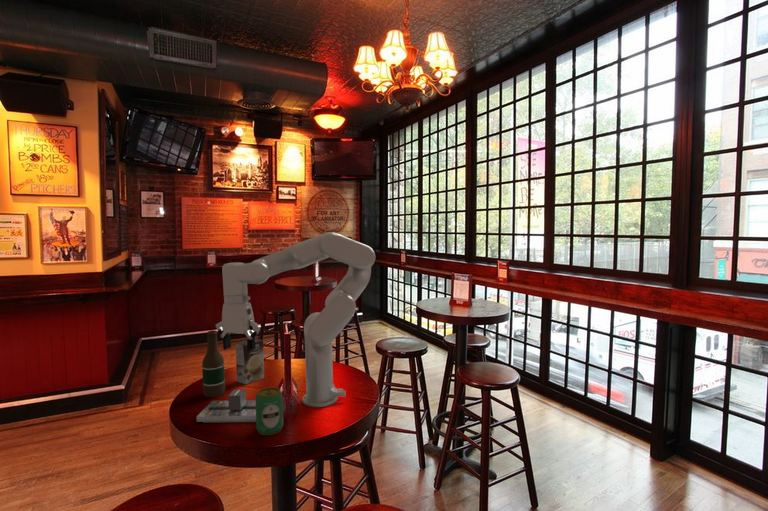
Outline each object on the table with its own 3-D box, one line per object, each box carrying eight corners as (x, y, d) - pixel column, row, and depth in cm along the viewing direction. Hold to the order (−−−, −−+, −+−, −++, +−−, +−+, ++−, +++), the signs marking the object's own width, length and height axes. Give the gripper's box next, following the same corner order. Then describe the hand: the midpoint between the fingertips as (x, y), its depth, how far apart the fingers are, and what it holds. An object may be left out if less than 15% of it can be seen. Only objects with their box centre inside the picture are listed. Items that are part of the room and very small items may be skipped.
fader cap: (246, 403, 139) (245, 389, 139) (240, 410, 134) (240, 395, 134) (234, 403, 139) (233, 389, 139) (228, 410, 134) (228, 395, 134)
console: (281, 405, 143) (280, 394, 142) (271, 421, 131) (271, 410, 131) (212, 406, 143) (212, 395, 143) (196, 422, 131) (196, 411, 131)
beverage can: (258, 438, 121) (256, 398, 120) (255, 426, 128) (253, 389, 127) (285, 432, 124) (284, 393, 123) (281, 421, 131) (279, 384, 130)
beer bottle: (217, 398, 149) (214, 334, 148) (198, 397, 151) (195, 333, 149) (229, 390, 157) (227, 329, 155) (211, 389, 159) (209, 328, 157)
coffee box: (245, 385, 162) (244, 345, 161) (236, 381, 166) (234, 342, 165) (264, 378, 170) (263, 340, 169) (255, 374, 173) (253, 337, 172)
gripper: (264, 297, 138) (267, 347, 139) (222, 297, 143) (225, 344, 144) (251, 302, 131) (254, 354, 132) (207, 300, 136) (210, 351, 137)
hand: (239, 349), depth 138 cm, fingers open, 9 cm apart
